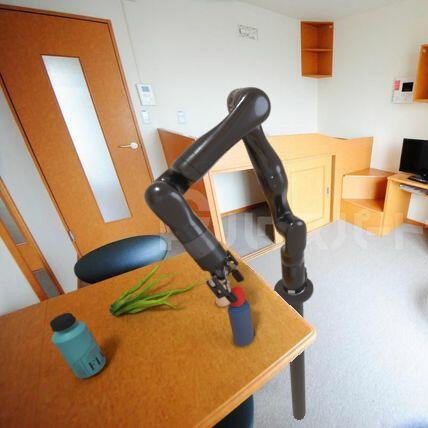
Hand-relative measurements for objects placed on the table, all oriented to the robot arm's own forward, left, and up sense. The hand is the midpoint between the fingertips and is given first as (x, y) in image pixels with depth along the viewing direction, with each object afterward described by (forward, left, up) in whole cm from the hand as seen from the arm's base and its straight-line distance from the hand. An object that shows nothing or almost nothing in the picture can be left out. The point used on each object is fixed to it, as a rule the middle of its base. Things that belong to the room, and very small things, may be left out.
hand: (238, 290), depth 69 cm
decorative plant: (+14, -34, -18) cm, 41 cm away
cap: (+1, +1, -2) cm, 3 cm away
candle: (-1, -18, -18) cm, 25 cm away
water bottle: (+1, +1, -18) cm, 18 cm away
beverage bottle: (+36, -18, -18) cm, 44 cm away
